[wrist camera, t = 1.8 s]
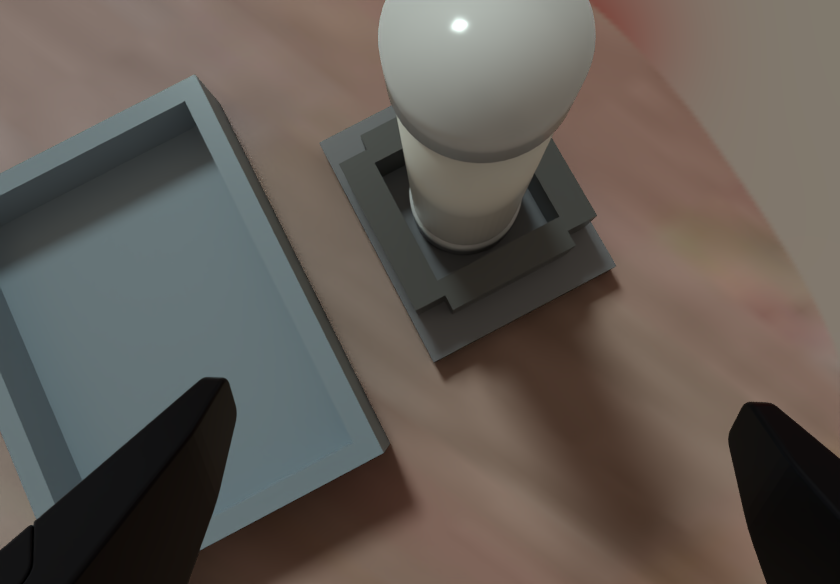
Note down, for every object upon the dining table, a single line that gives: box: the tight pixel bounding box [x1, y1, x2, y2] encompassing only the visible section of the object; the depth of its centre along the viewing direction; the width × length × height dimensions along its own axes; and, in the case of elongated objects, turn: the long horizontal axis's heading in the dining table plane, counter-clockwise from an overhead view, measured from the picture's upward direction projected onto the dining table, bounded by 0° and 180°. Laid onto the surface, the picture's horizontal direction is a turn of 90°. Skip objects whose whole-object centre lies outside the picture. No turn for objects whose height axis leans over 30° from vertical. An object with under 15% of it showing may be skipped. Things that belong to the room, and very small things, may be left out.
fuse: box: [378, 0, 596, 255], centre depth 17 cm, size 4×4×12 cm
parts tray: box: [0, 75, 390, 550], centre depth 23 cm, size 16×12×2 cm
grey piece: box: [320, 106, 616, 362], centre depth 23 cm, size 10×8×3 cm
